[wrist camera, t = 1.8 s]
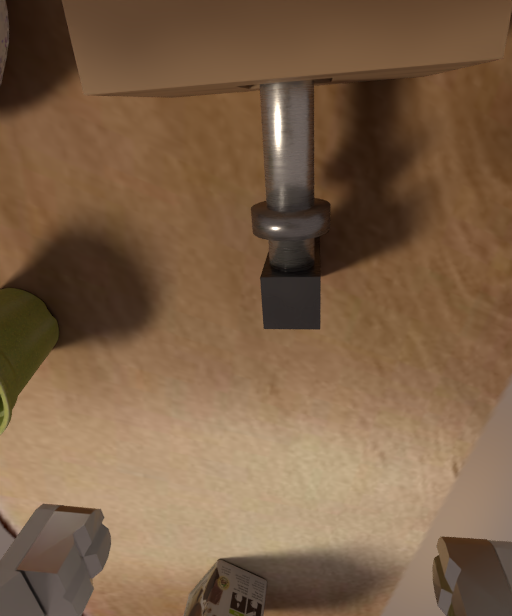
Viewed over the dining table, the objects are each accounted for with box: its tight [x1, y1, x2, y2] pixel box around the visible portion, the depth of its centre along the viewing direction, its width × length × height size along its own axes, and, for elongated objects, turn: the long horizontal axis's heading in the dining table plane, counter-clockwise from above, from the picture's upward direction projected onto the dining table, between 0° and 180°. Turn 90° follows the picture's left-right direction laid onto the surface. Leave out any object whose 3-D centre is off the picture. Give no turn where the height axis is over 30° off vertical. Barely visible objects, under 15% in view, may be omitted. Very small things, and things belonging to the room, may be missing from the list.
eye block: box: [62, 0, 512, 97], centre depth 16 cm, size 6×14×10 cm, turn 94°
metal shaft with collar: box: [251, 80, 331, 329], centre depth 20 cm, size 20×4×7 cm, turn 4°
